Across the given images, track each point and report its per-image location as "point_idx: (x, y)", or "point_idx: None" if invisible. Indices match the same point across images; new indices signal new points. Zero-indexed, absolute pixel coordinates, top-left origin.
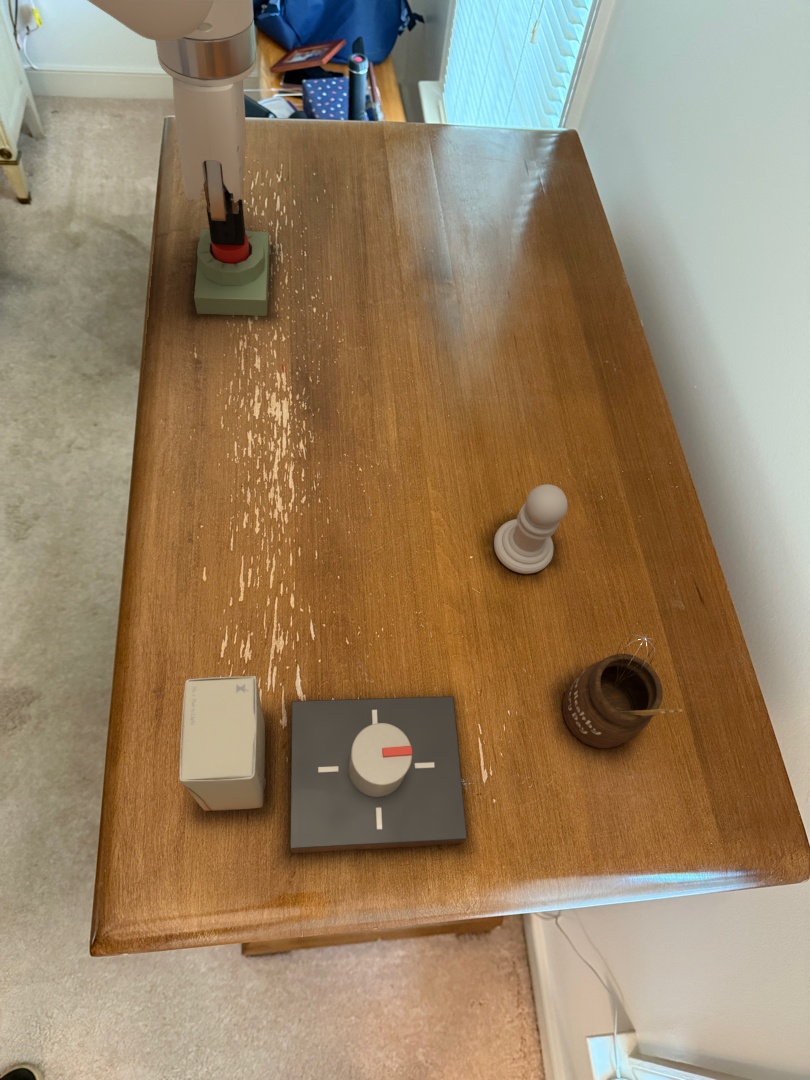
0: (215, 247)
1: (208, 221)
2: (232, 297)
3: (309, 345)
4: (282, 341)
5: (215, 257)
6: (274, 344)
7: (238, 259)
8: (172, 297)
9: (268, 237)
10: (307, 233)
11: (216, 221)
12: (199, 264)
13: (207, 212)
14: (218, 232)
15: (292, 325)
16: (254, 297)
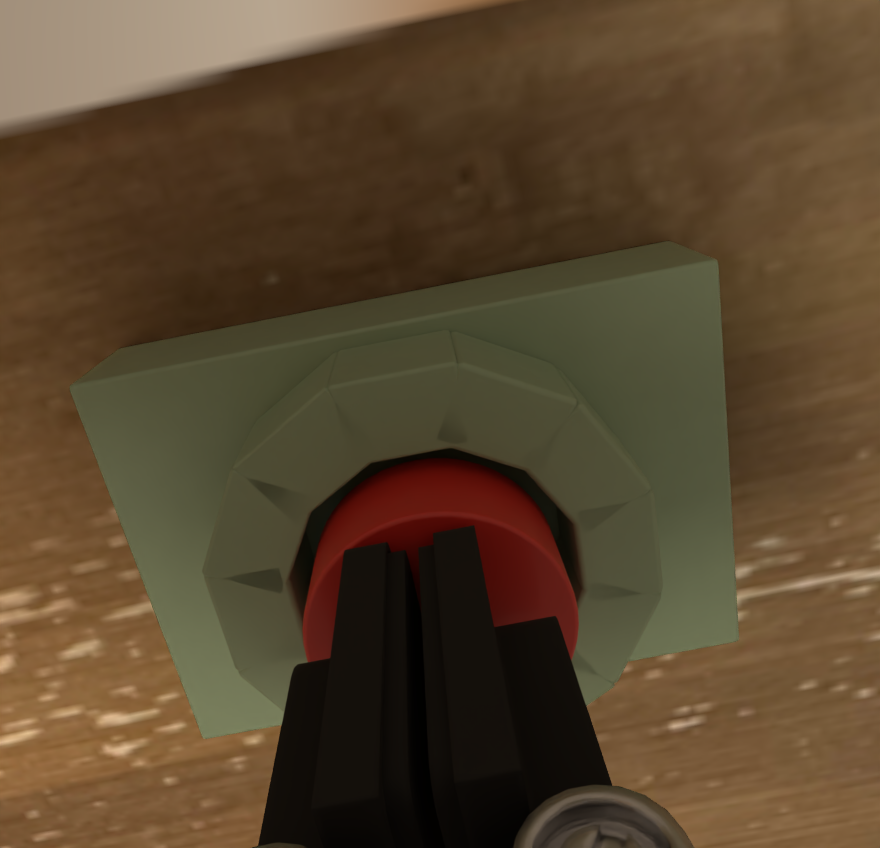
0: (321, 568)
1: (331, 676)
2: (155, 590)
3: (123, 839)
4: (102, 748)
5: (343, 502)
6: (70, 723)
7: None
8: (196, 172)
9: (698, 646)
10: (830, 704)
11: (265, 818)
12: (320, 371)
13: (317, 766)
14: (289, 720)
15: (213, 763)
16: (198, 690)
